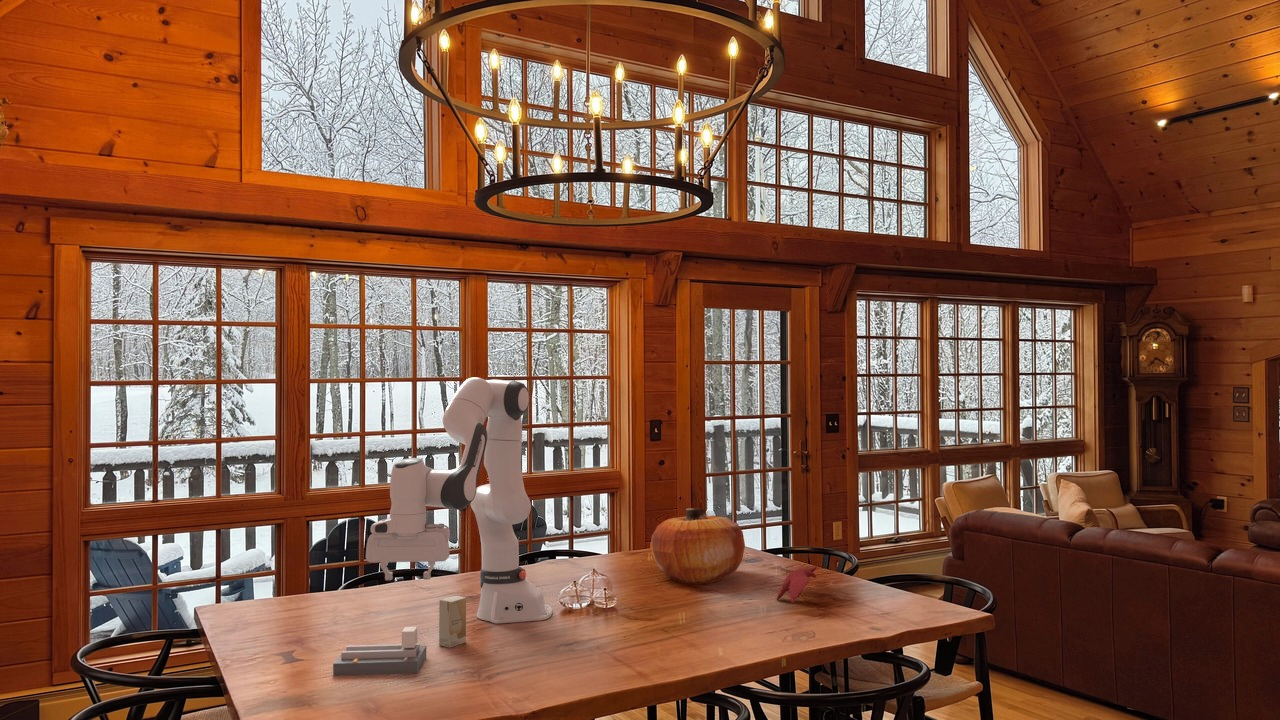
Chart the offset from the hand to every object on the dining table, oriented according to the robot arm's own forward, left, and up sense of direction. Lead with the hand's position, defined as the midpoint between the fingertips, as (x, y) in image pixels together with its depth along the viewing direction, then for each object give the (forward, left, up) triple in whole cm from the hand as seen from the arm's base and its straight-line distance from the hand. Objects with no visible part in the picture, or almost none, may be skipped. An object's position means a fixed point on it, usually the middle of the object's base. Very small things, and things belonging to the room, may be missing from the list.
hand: (408, 579), depth 216 cm
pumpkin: (-83, -85, -22) cm, 121 cm away
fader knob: (0, 0, -18) cm, 18 cm away
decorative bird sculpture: (-110, -51, -22) cm, 123 cm away
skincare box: (-8, -17, -22) cm, 29 cm away
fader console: (+7, 0, -21) cm, 22 cm away
